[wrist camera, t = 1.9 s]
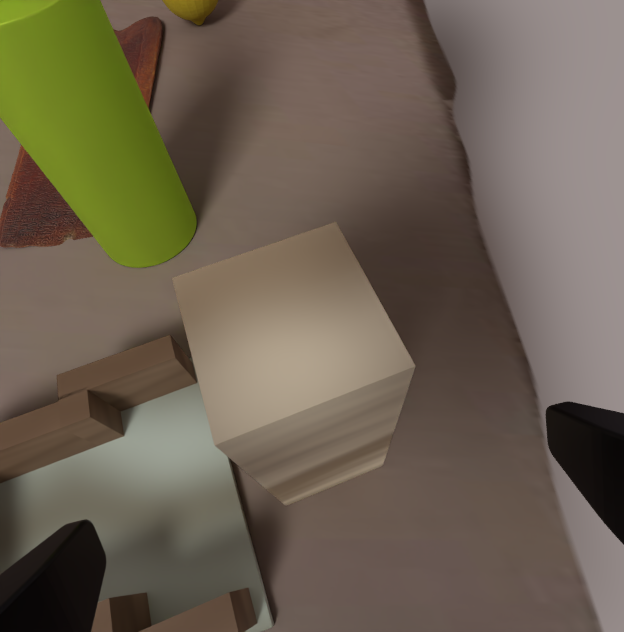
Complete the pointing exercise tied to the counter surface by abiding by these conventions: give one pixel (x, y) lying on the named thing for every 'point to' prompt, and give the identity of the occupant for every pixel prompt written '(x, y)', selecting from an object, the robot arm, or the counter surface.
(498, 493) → the counter surface
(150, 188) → the soap dispenser
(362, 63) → the counter surface
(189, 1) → the lemon
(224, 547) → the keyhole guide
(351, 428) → the birch post
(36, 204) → the wooden tablet
